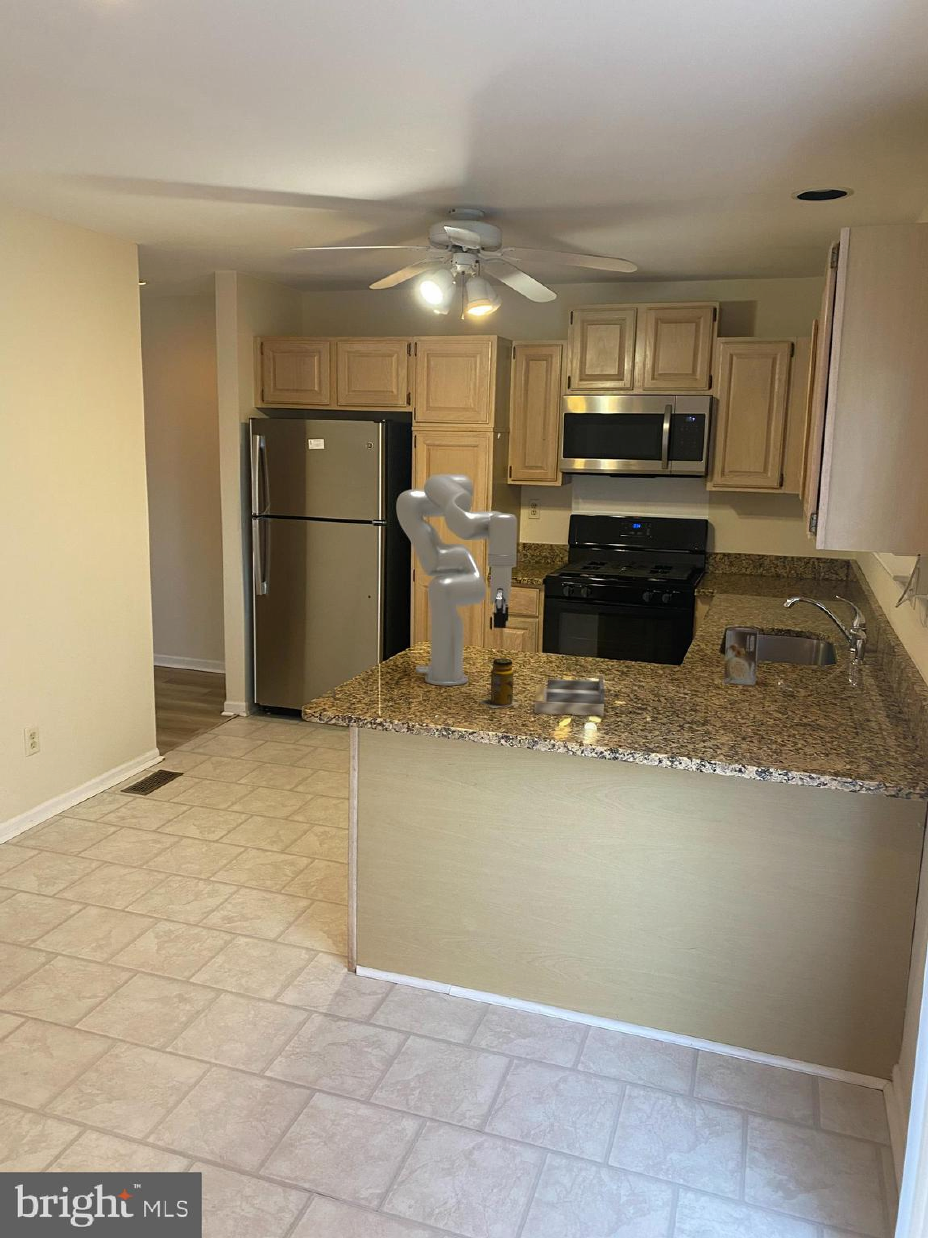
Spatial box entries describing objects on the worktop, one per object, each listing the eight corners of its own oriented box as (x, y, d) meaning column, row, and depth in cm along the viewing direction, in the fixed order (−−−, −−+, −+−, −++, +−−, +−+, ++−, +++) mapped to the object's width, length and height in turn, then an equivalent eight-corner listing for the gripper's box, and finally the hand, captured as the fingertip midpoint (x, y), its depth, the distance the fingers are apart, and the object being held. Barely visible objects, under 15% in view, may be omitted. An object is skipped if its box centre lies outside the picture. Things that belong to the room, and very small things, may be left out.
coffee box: (756, 681, 280) (760, 628, 277) (754, 686, 274) (758, 632, 271) (725, 677, 283) (728, 626, 280) (722, 682, 277) (726, 630, 274)
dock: (534, 713, 244) (535, 687, 242) (536, 696, 259) (537, 672, 258) (603, 716, 242) (604, 690, 241) (601, 699, 258) (602, 675, 256)
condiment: (519, 704, 252) (520, 661, 250) (493, 708, 247) (494, 665, 245) (503, 698, 258) (504, 655, 256) (478, 702, 253) (479, 659, 251)
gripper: (490, 556, 254) (489, 618, 257) (485, 564, 237) (484, 630, 240) (517, 557, 253) (516, 619, 256) (514, 565, 236) (513, 631, 239)
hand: (501, 624), depth 248 cm, fingers open, 9 cm apart
